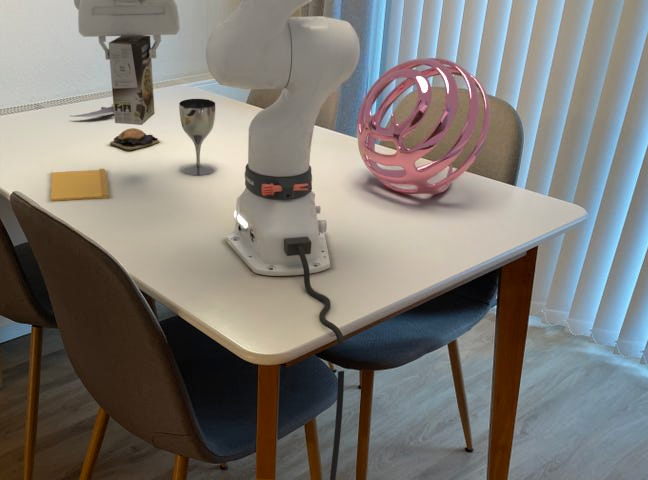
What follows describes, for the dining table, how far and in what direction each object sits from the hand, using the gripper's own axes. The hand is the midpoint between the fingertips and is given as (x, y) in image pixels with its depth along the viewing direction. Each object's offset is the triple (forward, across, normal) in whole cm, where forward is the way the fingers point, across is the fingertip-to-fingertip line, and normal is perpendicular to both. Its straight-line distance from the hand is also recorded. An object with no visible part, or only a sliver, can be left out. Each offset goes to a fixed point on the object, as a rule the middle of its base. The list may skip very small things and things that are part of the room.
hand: (131, 58), depth 159 cm
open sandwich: (+26, +1, +24) cm, 35 cm away
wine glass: (+26, +14, +3) cm, 29 cm away
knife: (+26, -3, +50) cm, 56 cm away
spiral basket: (+26, +58, -15) cm, 65 cm away
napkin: (+26, -13, -3) cm, 29 cm away
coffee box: (+12, 0, 0) cm, 13 cm away
